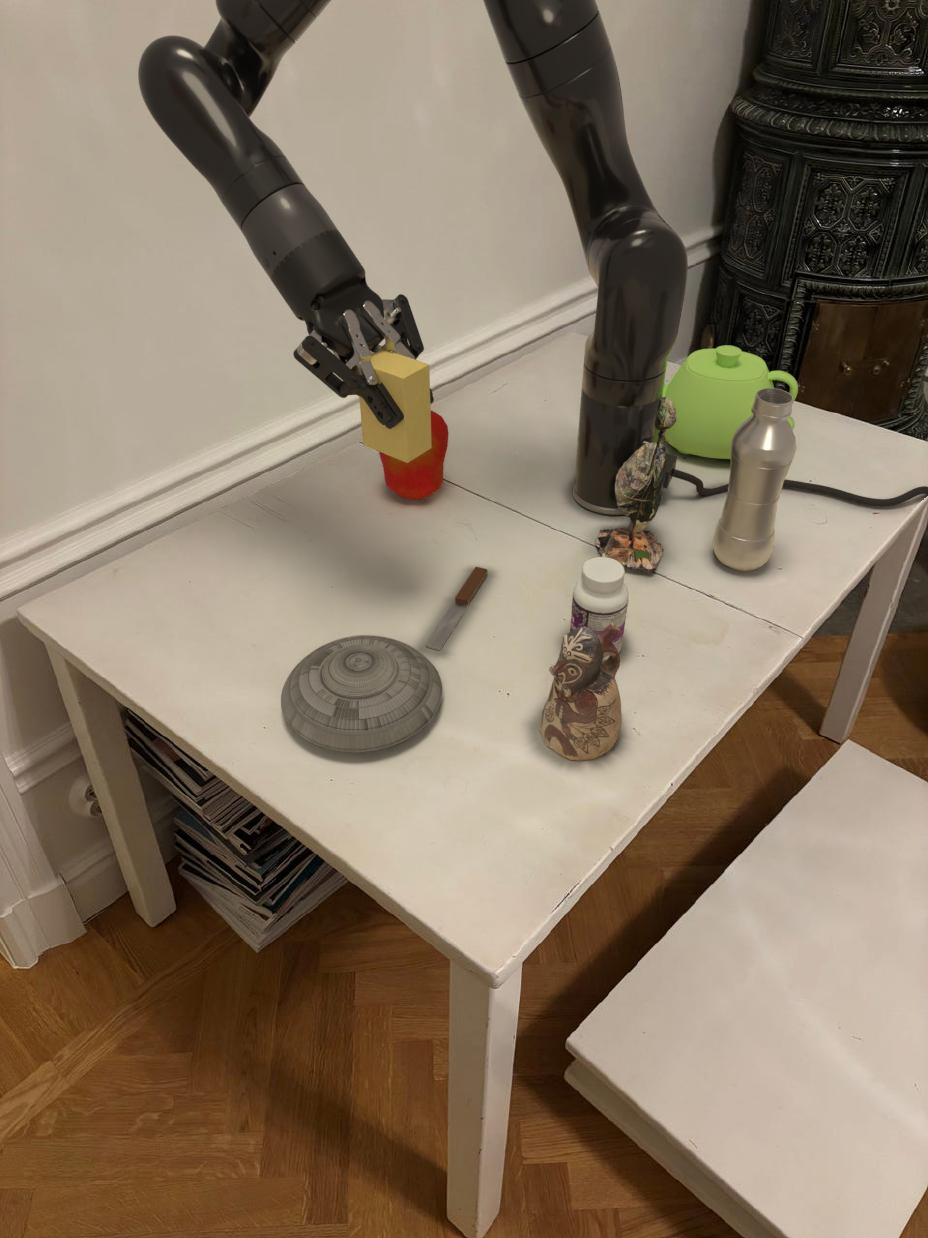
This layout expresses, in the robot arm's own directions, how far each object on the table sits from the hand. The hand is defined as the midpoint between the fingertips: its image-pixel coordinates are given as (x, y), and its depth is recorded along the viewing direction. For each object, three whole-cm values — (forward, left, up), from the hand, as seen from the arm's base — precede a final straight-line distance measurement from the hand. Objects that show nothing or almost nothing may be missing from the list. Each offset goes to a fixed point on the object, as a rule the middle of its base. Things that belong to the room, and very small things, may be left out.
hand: (411, 414), depth 86 cm
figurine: (-21, +12, -22) cm, 33 cm away
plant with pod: (-18, -18, -22) cm, 34 cm away
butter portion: (+2, -1, -4) cm, 5 cm away
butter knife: (-4, -1, -22) cm, 22 cm away
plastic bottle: (-30, -20, -22) cm, 42 cm away
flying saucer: (-1, +16, -22) cm, 27 cm away
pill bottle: (-19, 0, -22) cm, 29 cm away
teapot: (-21, -46, -22) cm, 55 cm away
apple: (+10, -20, -22) cm, 31 cm away
